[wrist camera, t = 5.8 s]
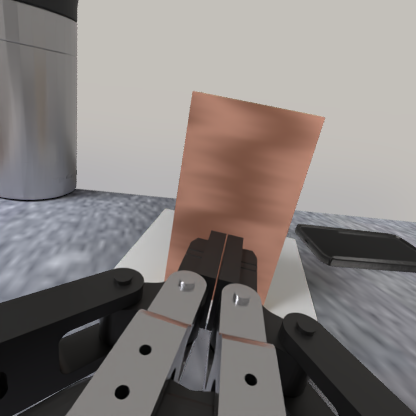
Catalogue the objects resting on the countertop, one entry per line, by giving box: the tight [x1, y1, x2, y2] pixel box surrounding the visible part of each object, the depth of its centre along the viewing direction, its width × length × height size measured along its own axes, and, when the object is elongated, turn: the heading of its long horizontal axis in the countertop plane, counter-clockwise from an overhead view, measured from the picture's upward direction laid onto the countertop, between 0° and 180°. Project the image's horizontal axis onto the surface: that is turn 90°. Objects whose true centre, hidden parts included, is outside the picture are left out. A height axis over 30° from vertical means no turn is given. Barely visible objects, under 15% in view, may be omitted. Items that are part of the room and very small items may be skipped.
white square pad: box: [114, 208, 318, 324], centre depth 25 cm, size 15×15×1 cm
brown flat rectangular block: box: [164, 91, 325, 305], centre depth 18 cm, size 7×2×13 cm, turn 81°
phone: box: [295, 224, 416, 273], centre depth 33 cm, size 8×1×15 cm
